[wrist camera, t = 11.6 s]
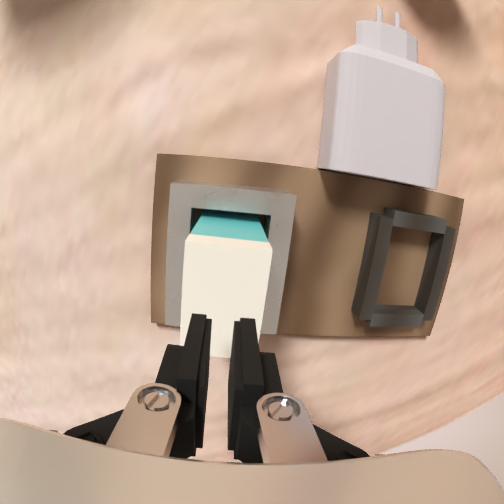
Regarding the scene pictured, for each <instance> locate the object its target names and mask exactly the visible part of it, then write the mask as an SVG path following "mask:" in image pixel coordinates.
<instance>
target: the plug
mask: <svg viewBox="0 0 504 504" xmlns="http://www.w3.org/2000/svg"><path fill="white" fill-rule="evenodd" d="M272 252H273V250H272V247H271V245H270V243H269V242H268V239H267V237H266V235H265V232H264V230H263V228H262V225H261V223H260V221H259V218H258V216H256V215H247V214H238V213H229V212H220V211H211V210H204V212H203V213H202V215H201V217H200V218H199V220H198V222H197V223H196V225H195V226H194V228H193V230H192V231H191V233H190V234H189V235H188V237H187V239H186V240H185V249H184V264H183V280H182V300H181V323H180V346H184V343H185V339H186V335H187V331H188V327H189V323H190V319H191V315H192V313H195V314H206V315H207V318H208V319H212V328H211V344H210V356H214V357H225V358H231V348H232V338H233V328H234V321H240V318H253V319H255V322H256V330H257V337H258V344H259V338H260V331H261V325H262V318H263V312H264V306H265V299H266V293H267V286H268V279H269V273H270V266H271V259H272Z"/></svg>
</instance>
